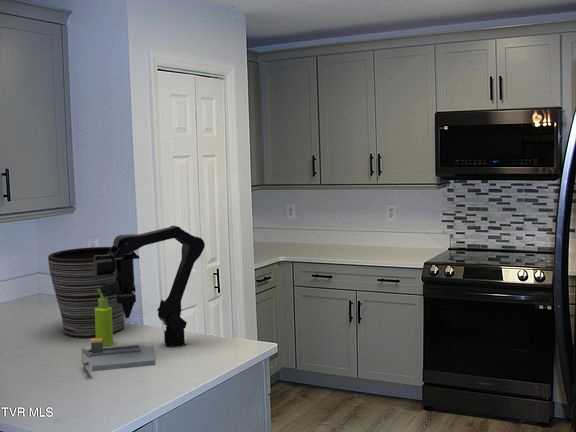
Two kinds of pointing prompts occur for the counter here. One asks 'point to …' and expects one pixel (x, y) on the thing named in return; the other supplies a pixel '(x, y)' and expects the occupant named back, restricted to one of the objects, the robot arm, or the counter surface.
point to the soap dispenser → (104, 321)
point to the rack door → (87, 360)
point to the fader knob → (97, 345)
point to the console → (121, 357)
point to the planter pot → (81, 291)
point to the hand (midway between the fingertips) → (127, 317)
